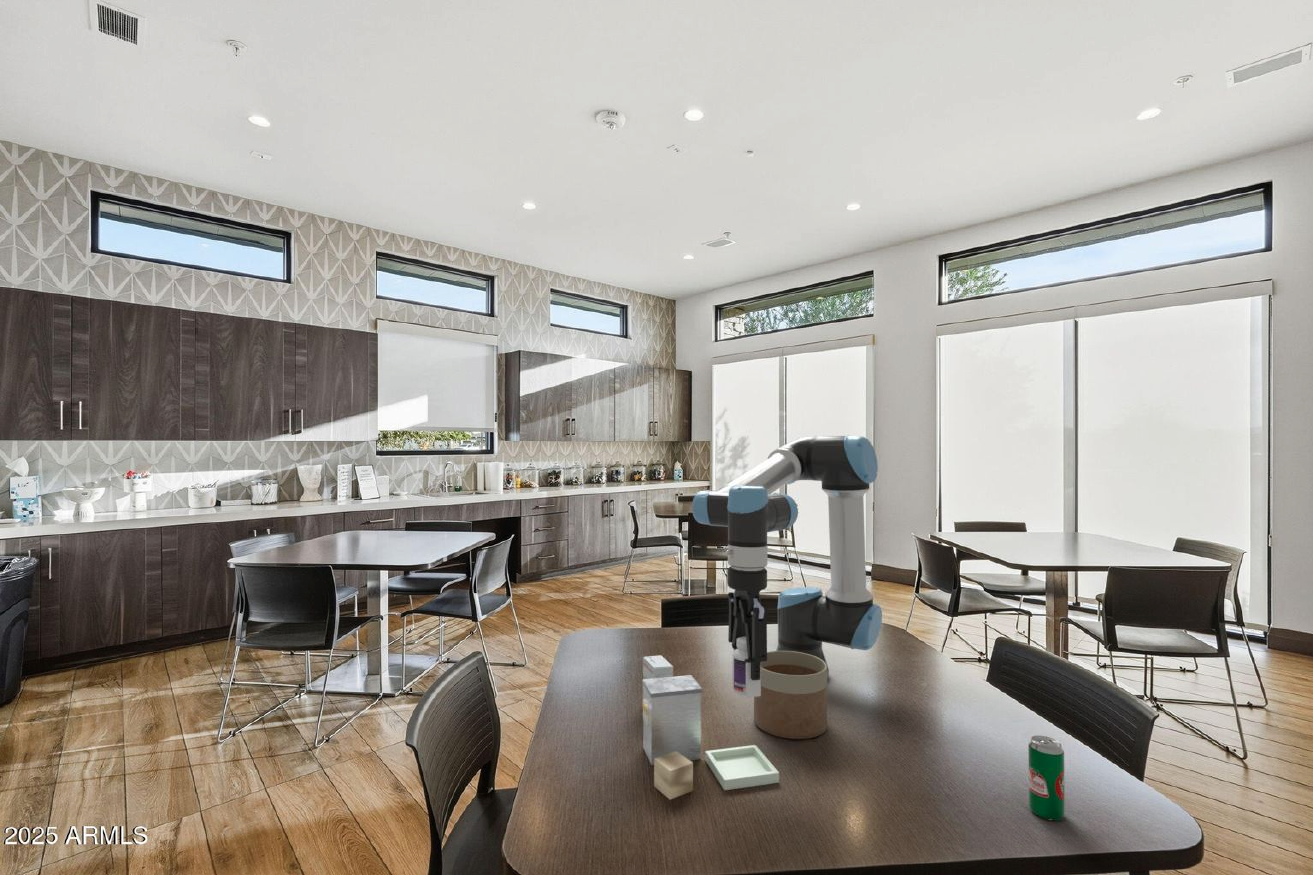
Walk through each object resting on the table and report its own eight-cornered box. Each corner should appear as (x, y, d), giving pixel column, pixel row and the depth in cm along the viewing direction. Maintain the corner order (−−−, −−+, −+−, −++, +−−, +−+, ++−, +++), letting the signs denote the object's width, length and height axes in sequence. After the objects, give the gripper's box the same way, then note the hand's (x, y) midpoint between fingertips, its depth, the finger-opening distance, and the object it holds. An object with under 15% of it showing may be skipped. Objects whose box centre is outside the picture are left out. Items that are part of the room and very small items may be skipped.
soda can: (1021, 805, 103) (1021, 734, 103) (1049, 803, 103) (1049, 733, 103) (1043, 823, 98) (1042, 749, 98) (1072, 821, 98) (1071, 748, 98)
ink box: (674, 718, 135) (674, 665, 136) (654, 721, 134) (654, 668, 134) (661, 703, 144) (661, 653, 144) (641, 706, 142) (641, 656, 142)
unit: (692, 741, 125) (692, 674, 125) (703, 759, 118) (704, 688, 118) (640, 747, 122) (640, 679, 122) (648, 766, 115) (649, 693, 115)
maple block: (676, 778, 111) (676, 751, 111) (692, 791, 107) (693, 762, 107) (654, 786, 108) (654, 758, 108) (669, 800, 104) (670, 771, 104)
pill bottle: (765, 695, 112) (765, 643, 112) (737, 697, 111) (737, 644, 111) (755, 684, 117) (755, 634, 117) (729, 686, 116) (729, 635, 116)
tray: (755, 753, 120) (755, 744, 120) (778, 782, 109) (779, 772, 109) (705, 760, 117) (705, 751, 117) (724, 790, 107) (724, 780, 107)
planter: (747, 734, 128) (747, 669, 128) (760, 705, 143) (760, 647, 143) (824, 747, 122) (824, 679, 123) (829, 715, 137) (829, 655, 138)
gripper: (712, 559, 122) (711, 673, 122) (748, 577, 105) (747, 711, 104) (746, 558, 124) (745, 670, 124) (787, 575, 106) (787, 707, 106)
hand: (746, 689), depth 114 cm, fingers closed on pill bottle, 5 cm apart
